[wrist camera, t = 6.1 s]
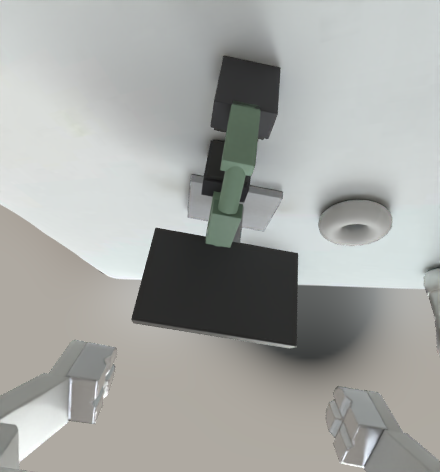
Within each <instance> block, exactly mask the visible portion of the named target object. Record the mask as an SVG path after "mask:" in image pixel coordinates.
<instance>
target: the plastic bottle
mask: <svg viewBox="0 0 440 472" xmlns="http://www.w3.org/2000/svg"><path fill="white" fill-rule="evenodd" d="M424 287H425V290H426V293H427V295H428V296H429V300H430V303H431V306H432V310H433V313H434V319H435V327H436V343H437V352H438V354H439V356H440V268H437V269H433V270H430V271H428V272H427V273H426V274H425V276H424Z"/></svg>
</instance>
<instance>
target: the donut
mask: <svg viewBox="0 0 440 472" xmlns="http://www.w3.org/2000/svg"><path fill="white" fill-rule="evenodd" d="M350 224H353V225H350ZM318 227H319V230H320V233H321V235H322V236H323V237H324V238H325V239H327V240H328V241H330V242H333V243H335V244H339V245H347V246H357V245H364V244H369V243H372V242H375V241H378V240H380V239H381V238H383V237H384V236H385V235H387V233H388V232H389V231H390V229H391V227H392V216H391V214H390V212H389V211H388V210H387V208H386V207H384V206H382V205H380V204H379V203H376V202H372V201H368V200H350V201H344V202H341V203H338V204H335V205H333V206H332V207H330V208H328V209H327V210H326V211H325V212H324V213H323V214H322V215H321V217H320V219H319V223H318Z"/></svg>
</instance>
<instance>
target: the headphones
mask: <svg viewBox="0 0 440 472" xmlns="http://www.w3.org/2000/svg"><path fill="white" fill-rule="evenodd" d="M279 83H280V68H278V67H274V66H269V65H264V64H260V63H255V62H251V61H246V60H241V59H237V58H232V57H228V56H223V61H222V66H221V71H220V76H219V80H218V85H217V90H216V95H215V100H214V106H213V113H212V120H211V128H214V130H217V131H222V132H226V138H225V142H222V141H217V140H213V141H211V142H210V148H209V153H208V158H207V163H206V168H205V173H204V178H203V184H202V191H201V195H206V196H211V197H213V198H212V204H211V210H210V215H209V221H208V227H207V233H206V238H205V240H206V242H205V243H206V244H211V245H215V246H217V247H220V246H222V247H228V248H230V247H231V244H232V242H233V239H234V237H235V234H236V231H237V229H238V226H239V224H240V221H241V219H242V211H243V204H239V202H243V203H244V202H245V199H246V197H247V194H248V191H249V187H250V178H251V176H252V173H253V170H254V168H255V161H256V151H257V141H258V139H261V140H264V138H266V139H268V138H269V135H270V133H271V130H272V128H273V125H274V122H275V120H276V117H277V114H278V99H279Z"/></svg>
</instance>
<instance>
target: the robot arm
mask: <svg viewBox="0 0 440 472" xmlns="http://www.w3.org/2000/svg"><path fill="white" fill-rule="evenodd" d="M116 355H117V348H115V347H110V346H105V345H100V344H95V343H90V342H84V341H79V340H73V341H72V342H71V343H70V344H69V345H68V347H67V348H66V350H65V351H64V352H63V354H62V355H61V357H60V358H59V360H58V361H57V362H56V364H55V365H54V366H53V368H52V369H51V371H50V372H49V373H48V374H47V373H43V374H41V375H39V376H38V377H35V378H33V379H32V380H30V381H28V382H26V383H24V384H22V385H20V386H18V387H16V388H14V389H13V390H10V391H8V392H7V393H5V394H3V395H1V396H0V472H32V471H26V470H19V462H20V461H21V460H23V459H24V458H25V457H26V456H27V455H29V454H30V453H31V452H32V451H34V450H35V449H36V448H37V447H38V446H39V445H41V444H42V443H43V442H44V441H46V440H47V439H48V438H49V437H50V436H52V435H53V434H54V433H55V432H57V431H58V430H59V429H60V428H61V427H63V426H64V425H65V424H66V423H67V422H68V421H74V422H82V423H90V424H95V422H96V420H97V417H98V415H99V413H100V410H101V408H102V405H103V398H104V397H105V396H107V395H108V392H109V390H110V387H111V384H112V381H113V377H114V372H115V366H114V364H113V363H114V361H115V358H116ZM333 395H334V398H335V399H334V400H333V401H331V402H329V404H328V407H327V409H326V423H327V427H328V430H329V432H330V433H331V434H332V435H333V436H334V437H335V440H334V443H333V445H334V447H335V450H336V453H337V456H338V459H339V462H340V463H342V464H347V465H353V466H358V467H363V468H364V470H365V471H366V472H440V461H439V460H438V459H437V458H436V457H434V456H433V455H432V454H431V453H430V452H429V451H427V450H426V449H425V448H424V447H423V446H422V445H420V444H419V443H418V442H417V441H416V440H414V439H413V438H412V437H411V436H410V435H409V434H407V433H403V431H402V430H401V428H400V426H399V425H398V423H397V421H396V420H395V418H394V416H393V414H392V413H391V411H390V409H389V408H388V406H387V404H386V403H385V401H384V399H383V397H382V396H381V395H380V394H379V393H378V392H373V391H367V390H359V389H353V388H347V387H341V386H338V387H336V388H335V390H334V392H333Z"/></svg>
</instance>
